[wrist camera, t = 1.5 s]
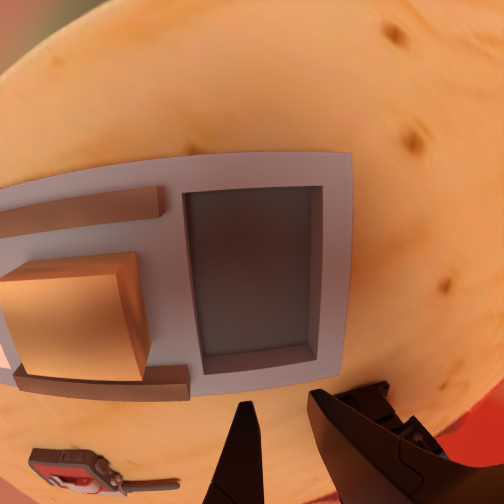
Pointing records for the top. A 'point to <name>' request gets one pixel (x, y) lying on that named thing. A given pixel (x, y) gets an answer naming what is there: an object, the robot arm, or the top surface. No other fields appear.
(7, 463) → the top surface
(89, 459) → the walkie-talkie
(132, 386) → the channel
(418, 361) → the top surface
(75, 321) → the block
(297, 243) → the deck
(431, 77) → the top surface
